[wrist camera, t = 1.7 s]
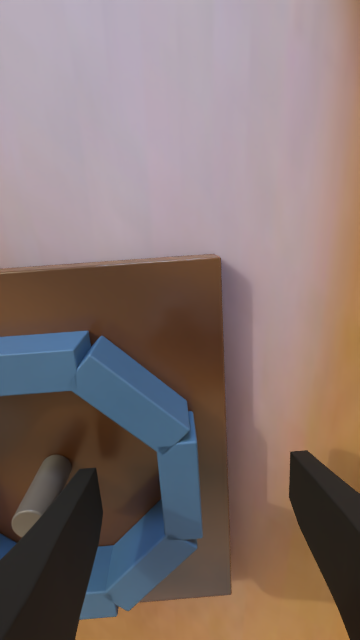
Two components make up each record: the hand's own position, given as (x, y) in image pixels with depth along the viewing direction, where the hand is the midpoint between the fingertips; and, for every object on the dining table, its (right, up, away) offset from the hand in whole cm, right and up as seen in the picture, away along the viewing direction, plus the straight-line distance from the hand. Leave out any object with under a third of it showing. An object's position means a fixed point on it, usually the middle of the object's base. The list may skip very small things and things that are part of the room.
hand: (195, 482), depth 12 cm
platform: (-6, 0, +3) cm, 6 cm away
